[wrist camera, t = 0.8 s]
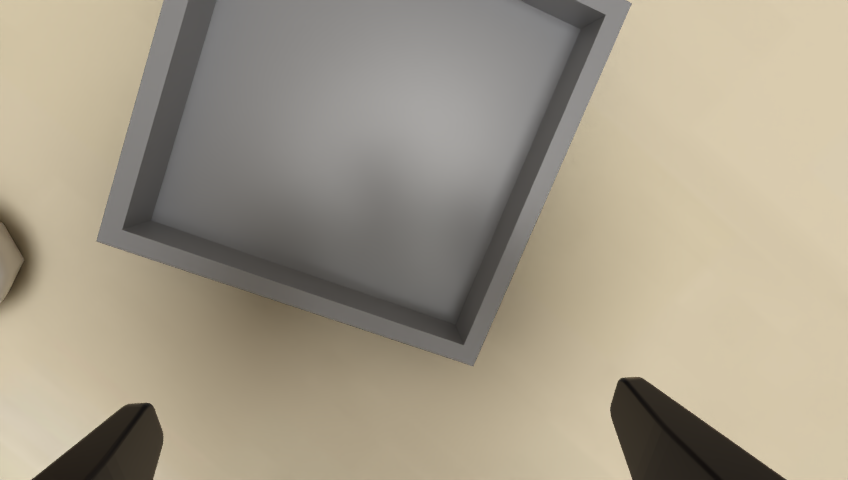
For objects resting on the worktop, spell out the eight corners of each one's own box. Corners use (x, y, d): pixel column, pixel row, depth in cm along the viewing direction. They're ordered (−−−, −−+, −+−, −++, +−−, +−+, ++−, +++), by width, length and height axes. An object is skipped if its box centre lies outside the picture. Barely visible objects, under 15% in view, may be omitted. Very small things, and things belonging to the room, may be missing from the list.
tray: (462, 339, 24) (473, 366, 21) (135, 228, 22) (96, 241, 19) (597, 22, 22) (631, 3, 19) (244, -147, 19) (219, -200, 16)
